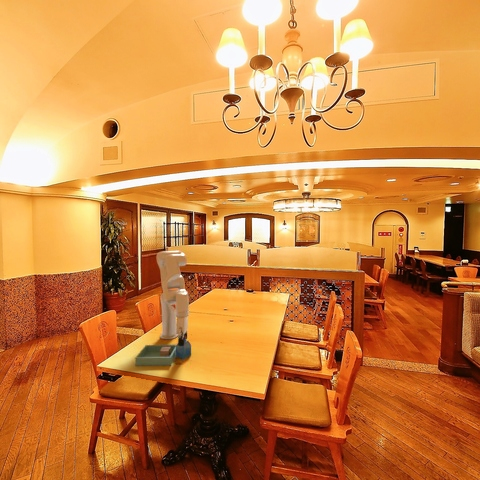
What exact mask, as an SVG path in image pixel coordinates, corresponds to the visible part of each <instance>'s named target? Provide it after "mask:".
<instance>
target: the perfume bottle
mask: <svg viewBox="0 0 480 480" xmlns="http://www.w3.org/2000/svg"><path fill="white" fill-rule="evenodd" d="M181 336H182V335H181ZM183 339H184V346H178V343H177V344H175V345H176V357H175V358H178V359H181V360H185V359H187V358H189V357H191V356H192V344H191V343H190V342H189V340H187V339H186V335H184V337H183Z"/></svg>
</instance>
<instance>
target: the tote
mask: <svg viewBox="0 0 480 480" xmlns="http://www.w3.org/2000/svg"><path fill="white" fill-rule="evenodd" d="M176 345H177V344H145V345H144V346H143V348H142V349H141V350H140V351H139V353H138V354H137V356H135V359H134V361H135V362H134V363H135V367H151V366H153V367H154V366H155V367H156V366H157V367H159V366H161V367H164V366H165V367H166V366H172V364H173V363H174V361H175V359H176V358H177V357H176ZM162 347H171V356H170V357H160V350H161V348H162Z"/></svg>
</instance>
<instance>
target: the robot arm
mask: <svg viewBox="0 0 480 480" xmlns="http://www.w3.org/2000/svg"><path fill="white" fill-rule="evenodd" d="M156 263H157V265H158V268H159V271H160V279H161V281H160V283H161V288H162V293H160V296H159V297H160V299H159V300H160V304H161V321H162V323H161V327H162V328H161V329H162V330H161V331H162V332H161V333H160V335H159V337H160V339H162V340H172V339H175V338H177V337H178V338H177V344H178V346H184V339H183V337H184V335H186V340H187V339H188V327H189V325H188V321H189V320H188V317H189V315H190V311H189V310H190V309H189V307H190V304H189V303H190V300H189V295H190V294H189V293H188V291H187V290H186V285H185V283H186V282H185V279H184V276H183V275H182V273H181V269H180V267H184V266H186V265H187V263H188V259H187V256H186V254H185V253H184V252H182V251H181V250H163V251H159V252H157V254H156ZM172 289H173V290H172ZM174 305H175V307H174ZM181 335H182V336H181Z"/></svg>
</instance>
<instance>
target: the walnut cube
mask: <svg viewBox="0 0 480 480" xmlns="http://www.w3.org/2000/svg"><path fill="white" fill-rule="evenodd" d="M170 356H171V347H162V348H161V350H160V357H170Z"/></svg>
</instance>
